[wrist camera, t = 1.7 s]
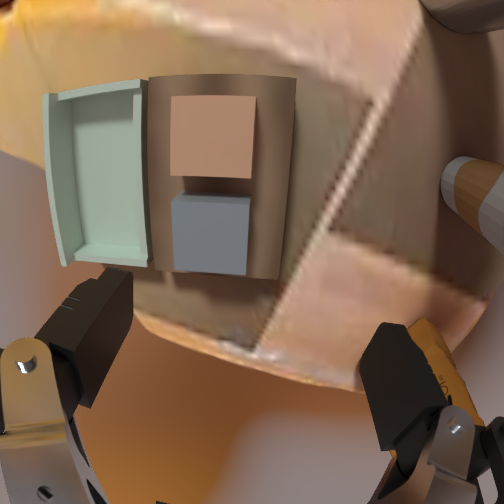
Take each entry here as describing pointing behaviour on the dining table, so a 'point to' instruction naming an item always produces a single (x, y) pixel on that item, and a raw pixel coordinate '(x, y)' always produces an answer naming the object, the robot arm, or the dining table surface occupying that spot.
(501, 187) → the coffee cup
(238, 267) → the slate tile
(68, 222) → the tray
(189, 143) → the terracotta tile
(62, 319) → the robot arm
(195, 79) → the grey brown flat block
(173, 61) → the dining table surface
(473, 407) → the coffee package
